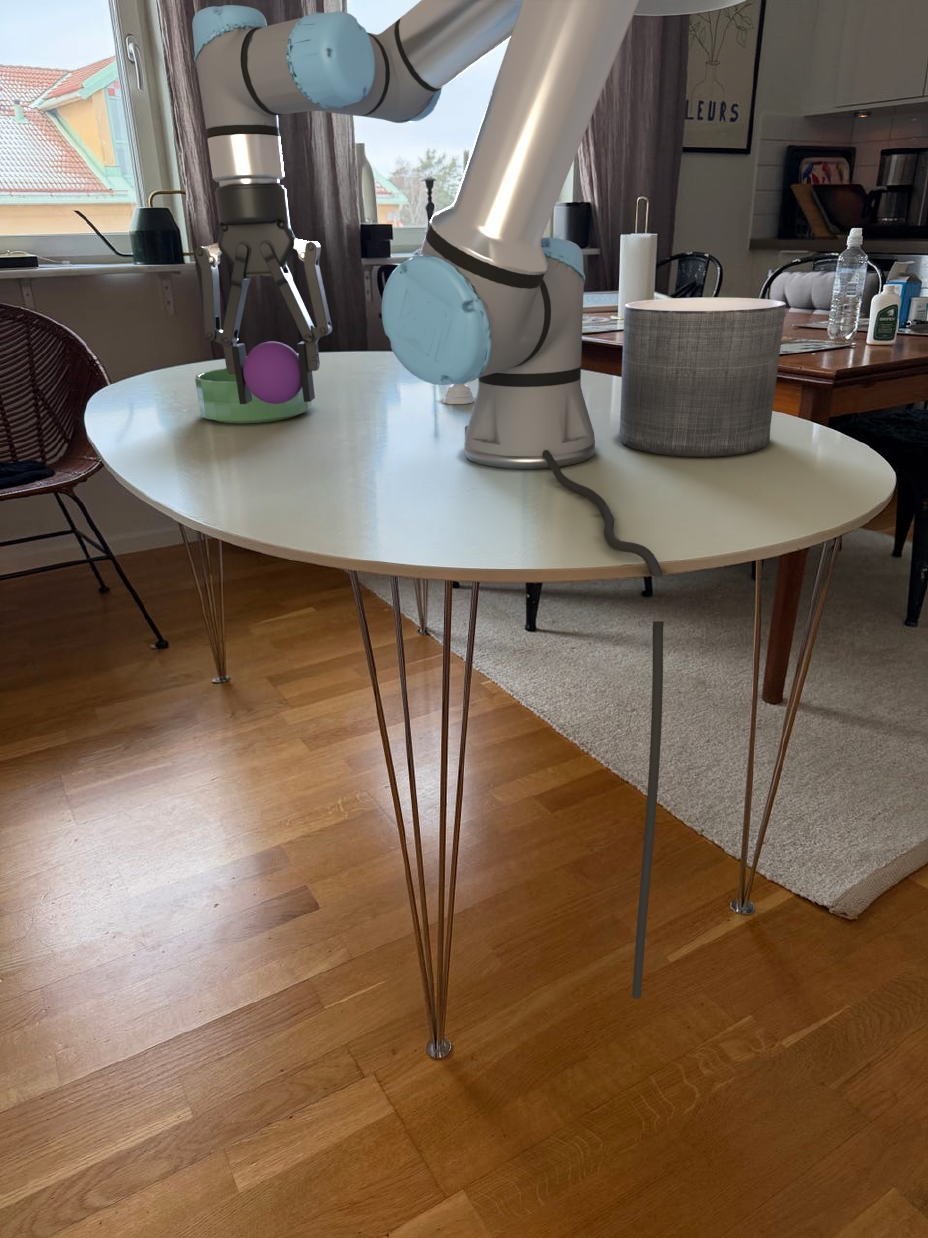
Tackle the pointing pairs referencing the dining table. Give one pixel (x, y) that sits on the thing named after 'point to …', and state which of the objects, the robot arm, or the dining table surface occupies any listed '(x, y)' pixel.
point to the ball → (273, 372)
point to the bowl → (224, 404)
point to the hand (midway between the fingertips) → (277, 400)
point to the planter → (699, 375)
